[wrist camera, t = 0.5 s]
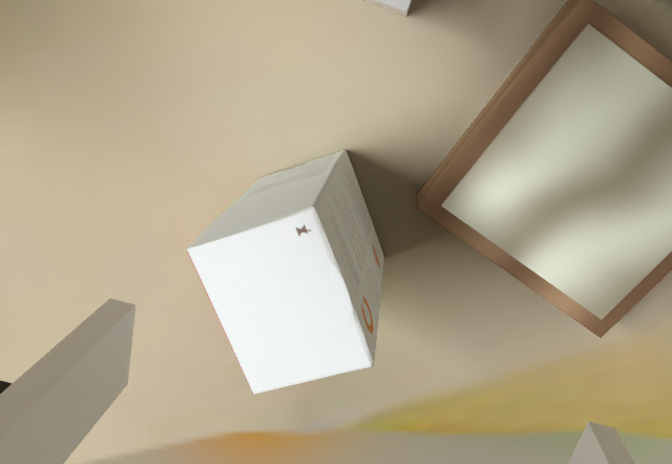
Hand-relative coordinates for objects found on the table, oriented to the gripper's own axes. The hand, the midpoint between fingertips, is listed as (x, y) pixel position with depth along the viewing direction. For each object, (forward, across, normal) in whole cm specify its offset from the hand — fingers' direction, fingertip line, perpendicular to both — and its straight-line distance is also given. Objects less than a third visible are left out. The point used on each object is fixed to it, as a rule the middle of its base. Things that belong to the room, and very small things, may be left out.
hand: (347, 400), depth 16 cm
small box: (+22, -3, -2) cm, 22 cm away
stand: (+21, +11, +5) cm, 25 cm away
